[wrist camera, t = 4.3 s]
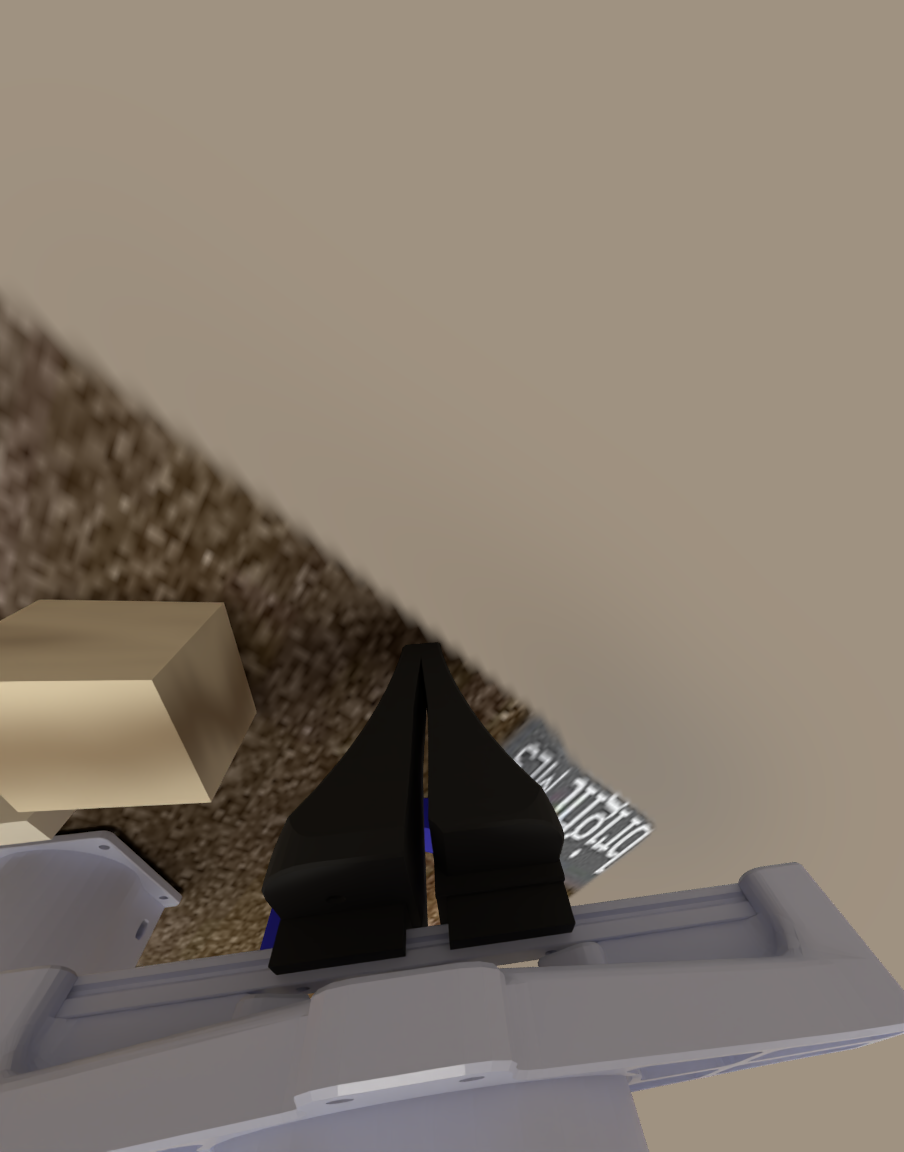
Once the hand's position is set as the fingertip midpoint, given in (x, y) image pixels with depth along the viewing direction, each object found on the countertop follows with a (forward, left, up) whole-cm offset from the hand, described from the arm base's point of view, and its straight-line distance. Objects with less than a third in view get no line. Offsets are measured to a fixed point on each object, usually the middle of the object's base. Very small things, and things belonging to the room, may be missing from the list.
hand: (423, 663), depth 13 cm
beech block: (0, +10, -2) cm, 11 cm away
